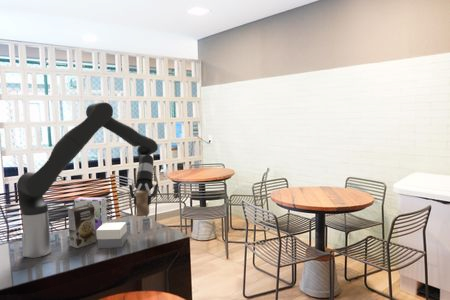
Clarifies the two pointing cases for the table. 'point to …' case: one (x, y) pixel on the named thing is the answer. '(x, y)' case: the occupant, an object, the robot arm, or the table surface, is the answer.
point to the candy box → (98, 206)
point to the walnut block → (142, 203)
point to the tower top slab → (111, 230)
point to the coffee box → (81, 226)
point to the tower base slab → (112, 242)
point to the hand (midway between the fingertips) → (142, 204)
